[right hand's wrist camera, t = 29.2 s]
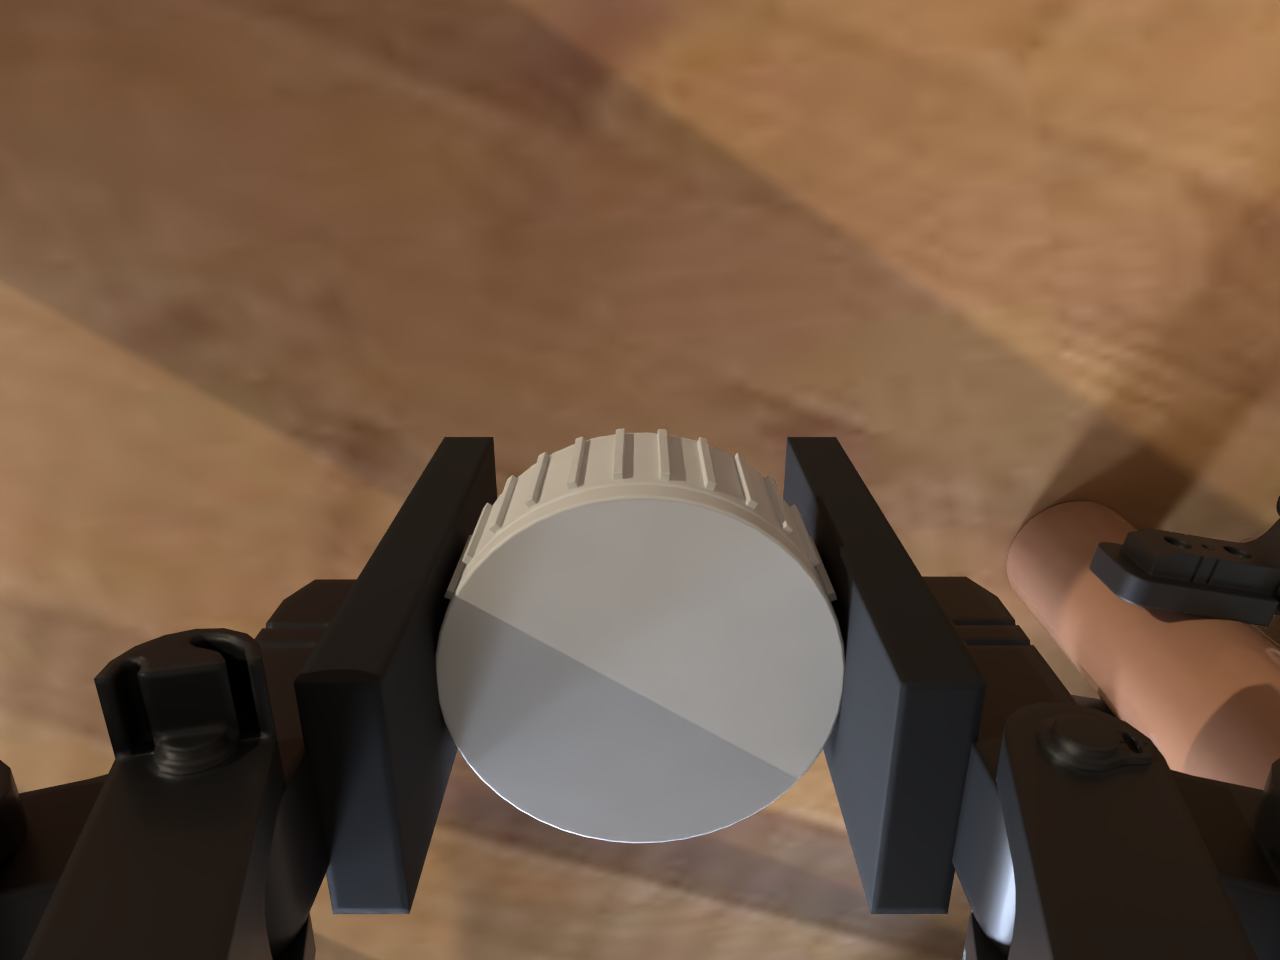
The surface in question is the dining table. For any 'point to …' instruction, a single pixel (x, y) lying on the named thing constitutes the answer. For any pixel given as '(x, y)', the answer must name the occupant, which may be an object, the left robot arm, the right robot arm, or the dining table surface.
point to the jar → (1152, 652)
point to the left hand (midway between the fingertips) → (1078, 649)
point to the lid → (640, 641)
